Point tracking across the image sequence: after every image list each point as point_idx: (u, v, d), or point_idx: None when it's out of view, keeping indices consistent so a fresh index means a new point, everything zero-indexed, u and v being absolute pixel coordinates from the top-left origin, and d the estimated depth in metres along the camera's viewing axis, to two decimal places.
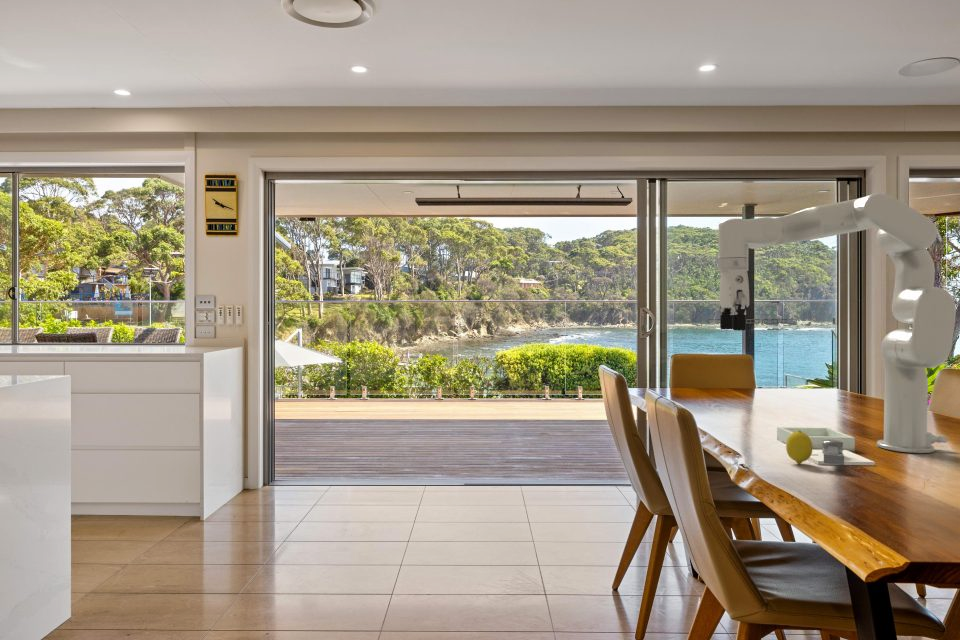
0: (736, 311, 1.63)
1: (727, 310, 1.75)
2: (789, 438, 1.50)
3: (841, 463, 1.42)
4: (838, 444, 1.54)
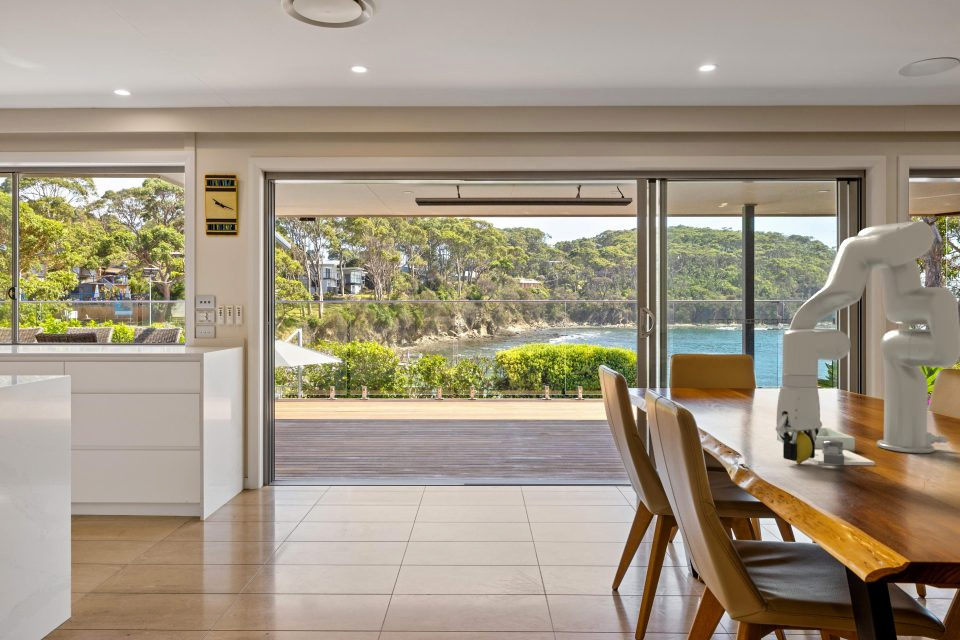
0: None
1: None
2: None
3: (841, 463, 1.42)
4: (838, 444, 1.54)
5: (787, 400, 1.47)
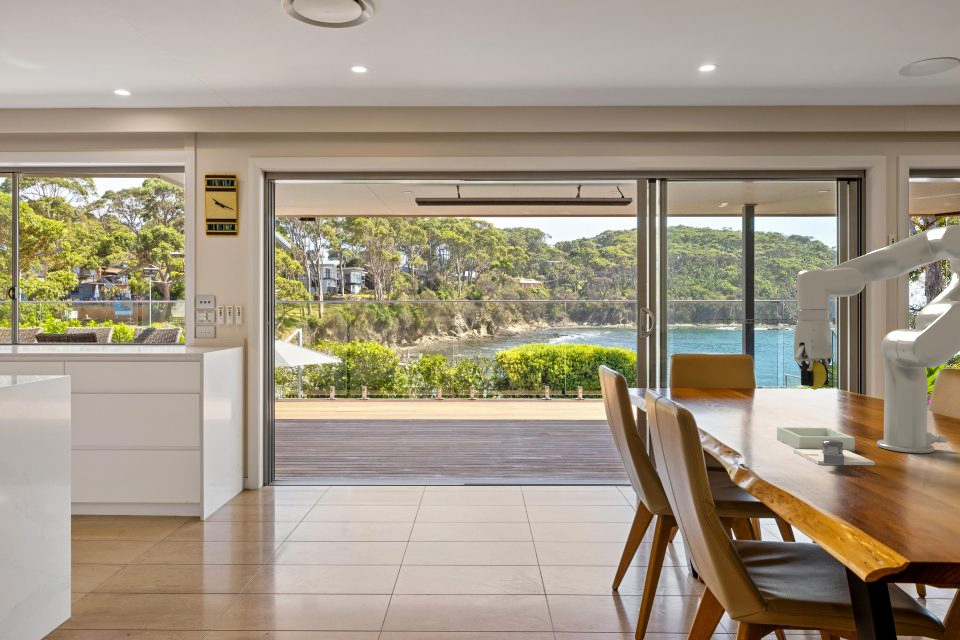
0: None
1: None
2: None
3: (841, 463, 1.42)
4: (838, 444, 1.54)
5: (803, 332, 1.65)
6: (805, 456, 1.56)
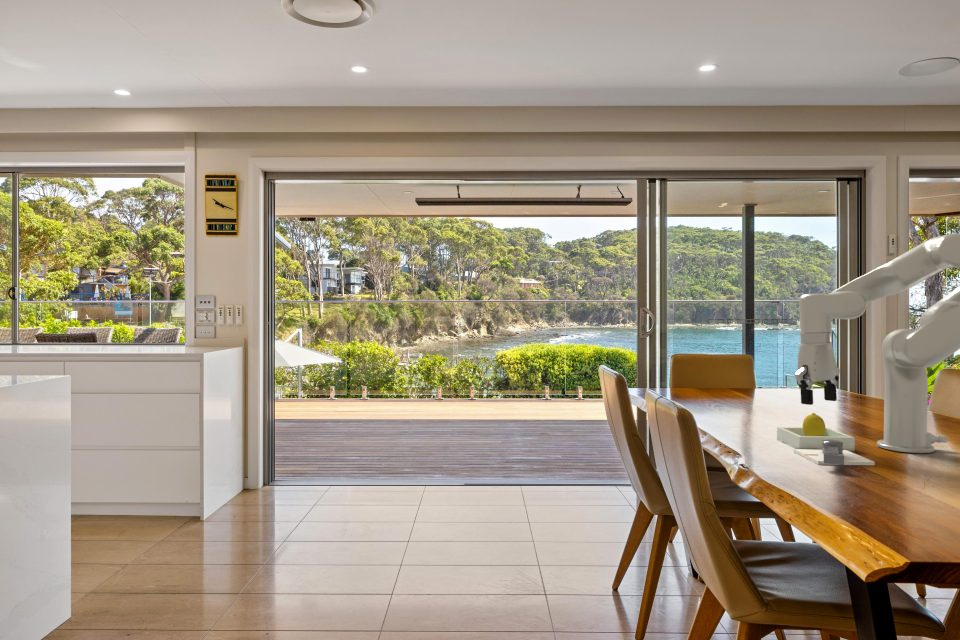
0: None
1: None
2: (805, 420, 1.72)
3: (841, 463, 1.42)
4: (838, 444, 1.54)
5: (806, 355, 1.69)
6: (805, 456, 1.56)
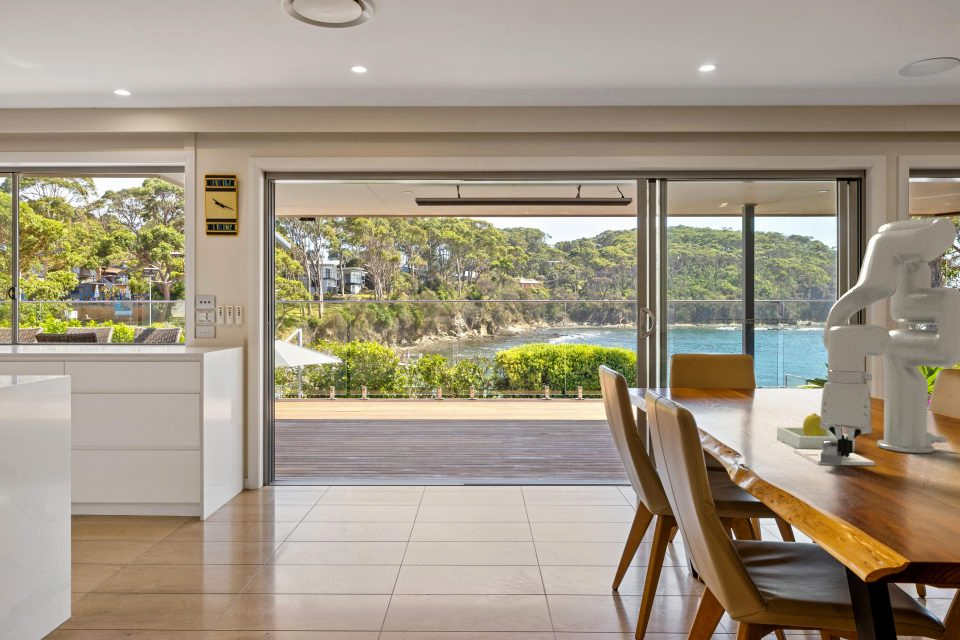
0: (853, 438, 1.48)
1: None
2: (805, 420, 1.72)
3: (838, 463, 1.42)
4: None
5: None
6: (805, 456, 1.56)
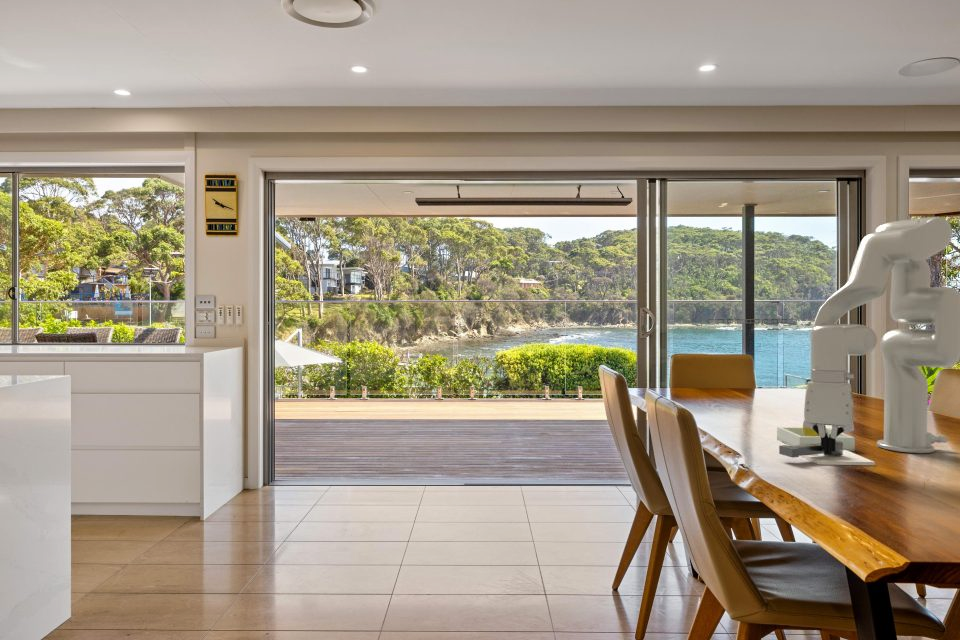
0: (835, 436, 1.50)
1: None
2: None
3: (790, 455, 1.50)
4: None
5: None
6: (805, 456, 1.56)
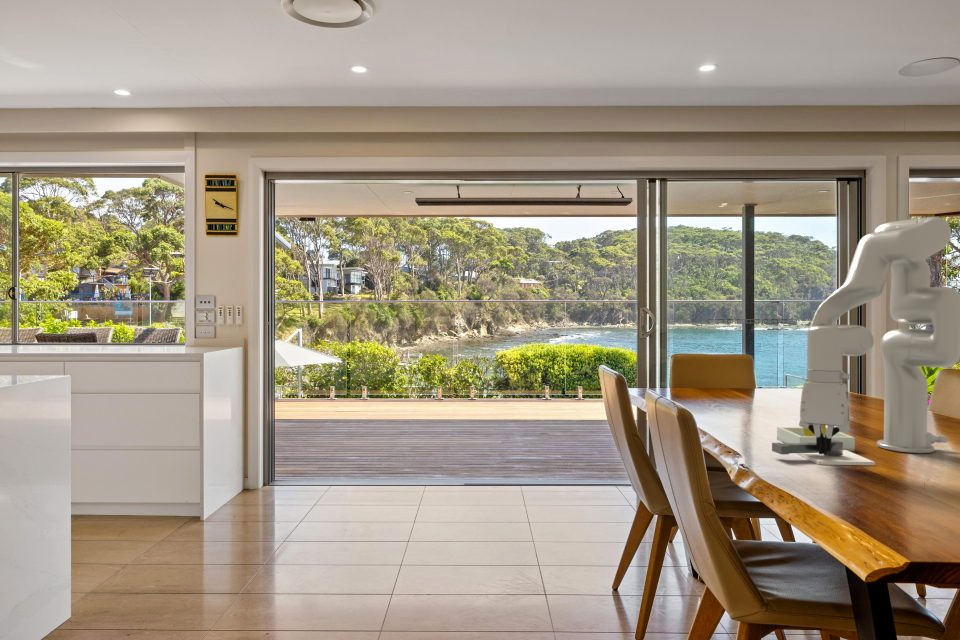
0: (831, 436, 1.50)
1: None
2: None
3: (779, 452, 1.53)
4: None
5: None
6: (805, 456, 1.56)
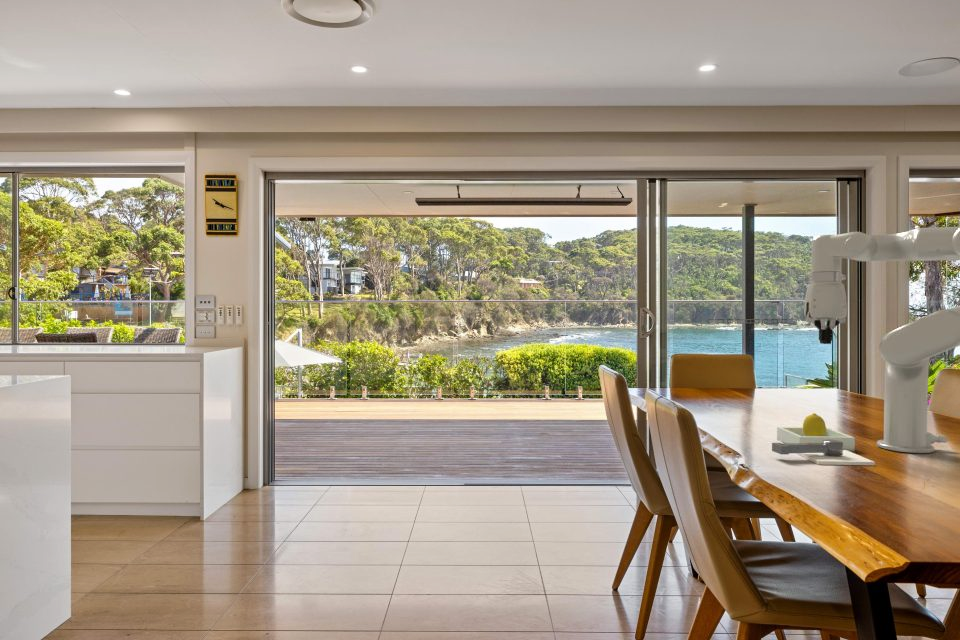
0: None
1: None
2: (805, 420, 1.72)
3: (779, 452, 1.53)
4: (828, 443, 1.54)
5: (809, 293, 1.79)
6: (805, 456, 1.56)
